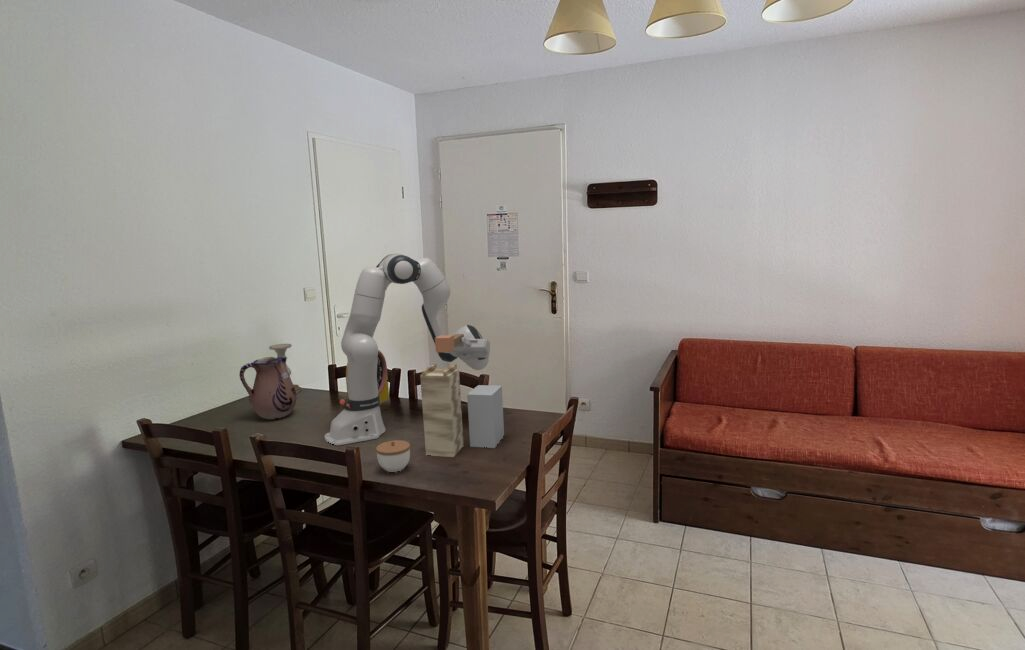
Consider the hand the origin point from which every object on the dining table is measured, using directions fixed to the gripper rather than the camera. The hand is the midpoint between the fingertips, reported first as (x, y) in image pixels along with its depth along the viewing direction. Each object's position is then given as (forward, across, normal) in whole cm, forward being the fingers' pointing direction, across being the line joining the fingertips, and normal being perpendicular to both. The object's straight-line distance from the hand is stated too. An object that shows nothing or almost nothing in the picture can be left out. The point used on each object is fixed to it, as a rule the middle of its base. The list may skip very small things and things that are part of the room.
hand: (455, 339), depth 215 cm
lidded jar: (+12, -11, +48) cm, 51 cm away
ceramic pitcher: (-24, -88, +28) cm, 96 cm away
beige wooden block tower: (-3, 0, +40) cm, 40 cm away
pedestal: (-13, +12, +34) cm, 38 cm away
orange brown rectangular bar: (+3, 0, +4) cm, 5 cm away
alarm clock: (-44, -55, +16) cm, 72 cm away
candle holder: (-54, -106, +11) cm, 120 cm away
